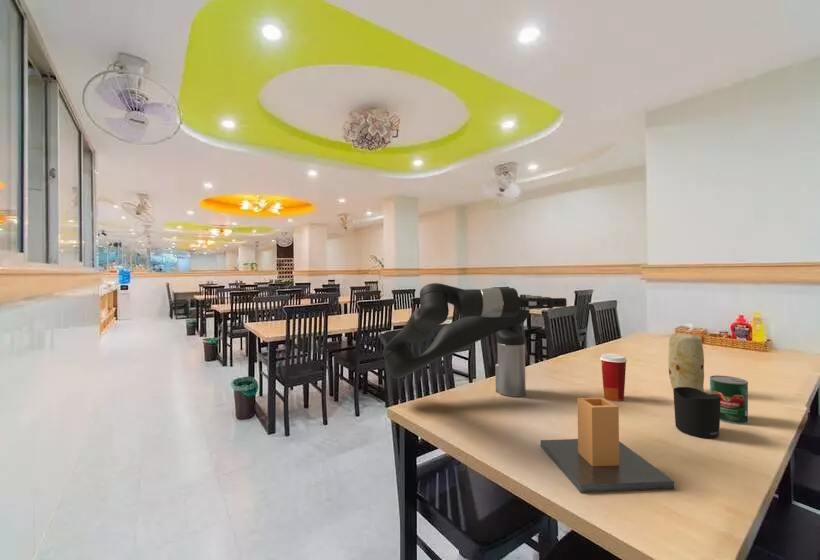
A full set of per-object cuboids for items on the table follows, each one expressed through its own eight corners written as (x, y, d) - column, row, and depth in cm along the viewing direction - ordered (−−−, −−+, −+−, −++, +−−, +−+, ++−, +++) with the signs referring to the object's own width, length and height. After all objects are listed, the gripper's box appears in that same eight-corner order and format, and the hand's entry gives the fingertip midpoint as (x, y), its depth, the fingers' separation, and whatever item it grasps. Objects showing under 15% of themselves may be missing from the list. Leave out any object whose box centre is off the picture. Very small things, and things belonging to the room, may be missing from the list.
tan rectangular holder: (592, 466, 71) (591, 407, 71) (578, 452, 77) (577, 398, 77) (619, 465, 72) (618, 406, 72) (603, 451, 77) (602, 397, 77)
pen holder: (681, 436, 87) (680, 396, 87) (668, 421, 96) (668, 385, 96) (728, 442, 84) (728, 400, 84) (711, 426, 93) (710, 388, 93)
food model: (706, 393, 118) (705, 334, 118) (701, 398, 114) (701, 336, 114) (671, 387, 126) (670, 331, 126) (665, 391, 122) (665, 333, 121)
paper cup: (620, 394, 119) (619, 353, 119) (632, 402, 111) (631, 358, 111) (596, 394, 120) (595, 353, 119) (606, 402, 112) (605, 358, 112)
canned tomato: (717, 422, 96) (717, 381, 95) (704, 411, 103) (704, 374, 103) (755, 426, 93) (754, 384, 93) (739, 415, 100) (738, 376, 100)
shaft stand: (580, 492, 65) (580, 443, 65) (540, 446, 83) (540, 407, 83) (674, 489, 66) (673, 440, 66) (614, 443, 84) (614, 405, 84)
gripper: (489, 314, 98) (546, 313, 99) (506, 319, 84) (572, 318, 85) (489, 287, 98) (545, 287, 99) (505, 288, 84) (571, 287, 85)
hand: (557, 301), depth 92 cm, fingers open, 8 cm apart
